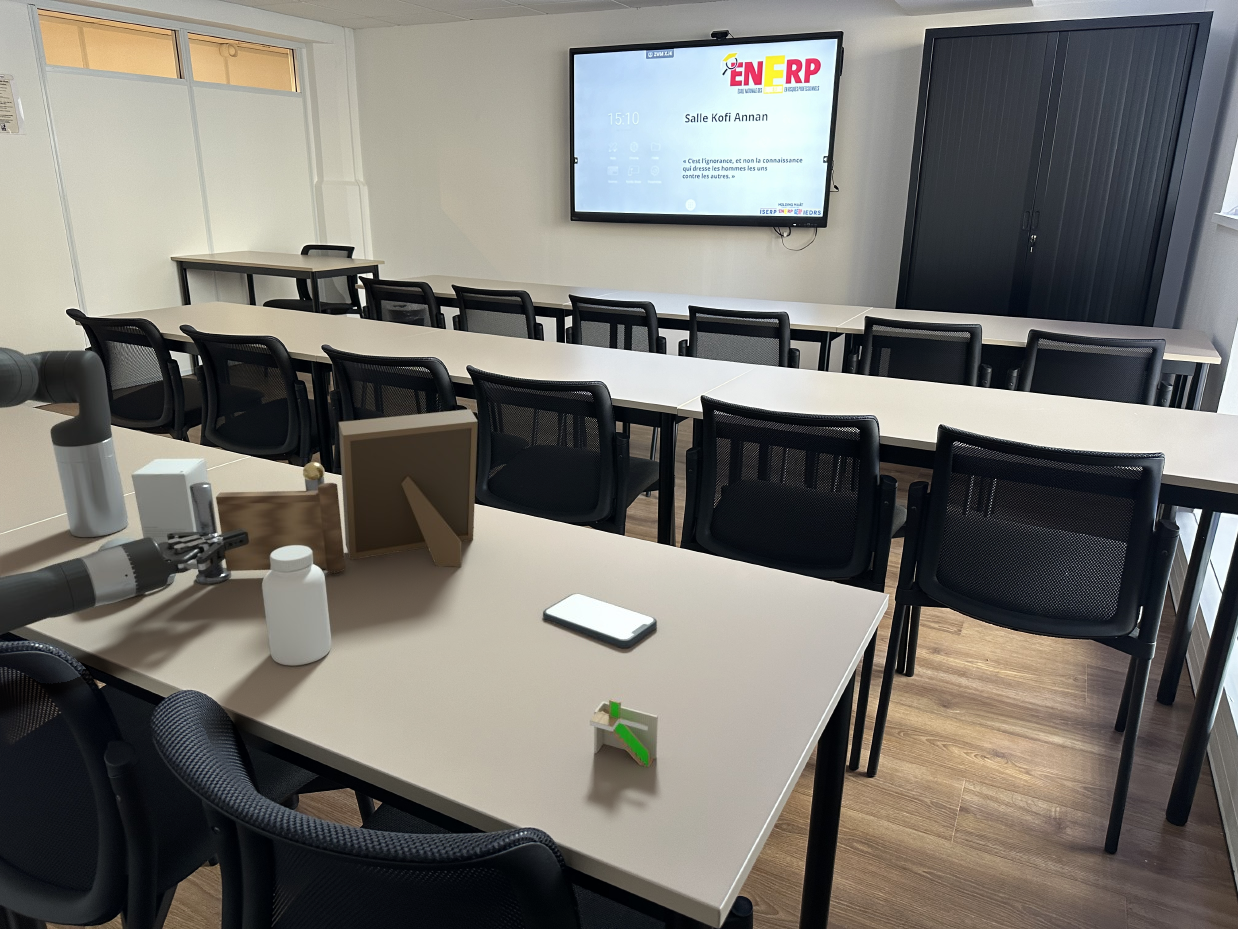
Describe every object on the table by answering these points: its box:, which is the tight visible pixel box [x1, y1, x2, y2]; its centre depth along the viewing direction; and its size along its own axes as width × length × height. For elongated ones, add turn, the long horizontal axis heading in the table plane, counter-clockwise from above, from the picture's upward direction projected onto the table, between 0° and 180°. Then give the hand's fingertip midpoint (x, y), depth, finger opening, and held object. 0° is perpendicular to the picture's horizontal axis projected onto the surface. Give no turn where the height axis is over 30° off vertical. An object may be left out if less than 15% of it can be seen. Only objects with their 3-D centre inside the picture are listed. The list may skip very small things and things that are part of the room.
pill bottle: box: [261, 545, 332, 666], centre depth 115 cm, size 8×8×15 cm
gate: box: [215, 482, 346, 573], centre depth 138 cm, size 18×3×14 cm, turn 95°
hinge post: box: [190, 482, 232, 585], centre depth 137 cm, size 5×5×16 cm
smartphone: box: [542, 593, 658, 649], centre depth 127 cm, size 9×2×16 cm
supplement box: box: [131, 458, 210, 544], centre depth 149 cm, size 9×9×15 cm
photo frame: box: [338, 408, 479, 568], centre depth 144 cm, size 15×22×25 cm
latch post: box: [302, 461, 326, 570], centre depth 142 cm, size 5×5×18 cm
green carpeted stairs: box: [589, 698, 659, 768], centre depth 95 cm, size 4×7×8 cm, turn 66°
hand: (246, 535), depth 130 cm, fingers closed
